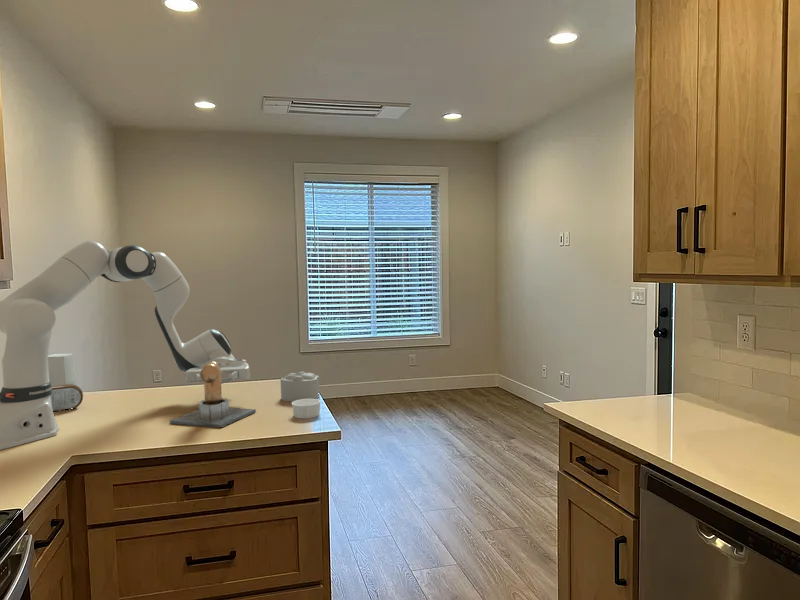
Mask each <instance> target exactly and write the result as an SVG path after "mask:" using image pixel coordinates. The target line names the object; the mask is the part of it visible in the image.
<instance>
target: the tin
mask: <svg viewBox="0 0 800 600" xmlns="http://www.w3.org/2000/svg"><path fill="white" fill-rule="evenodd" d="M51 387H52V394H51V402H52V408H53V411H57V412H60V411H59V410H65V409H71V408H75V409H77V408H78V407H79V406H80V405H81V404H82V402H83V399H84V394H83V393H84V392H83V390H82V389H81V388H80V387H79V386H78V385H77V386H76V385H73V384H67V385H58V386H51ZM65 411H66V410H65Z"/></svg>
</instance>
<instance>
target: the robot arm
mask: <svg viewBox="0 0 800 600" xmlns="http://www.w3.org/2000/svg"><path fill="white" fill-rule="evenodd" d="M100 276H101V277H102V278H104V279H106V280H107V281H110V282H113V283H125V282H126V283H127V282H131V281H134V280H139V279H140V280H142V281H144V282H145V283H146V284H147V285H148V288H149V289H150V290H151V291H152V293H153V295H154V297H155V300H156V306H155V307H154V315H155V318H156V321H157V323H158V325H159V328H160V329H161V332H162V334H163V336H164V338H165V340H166V342H167V345H168V347H169V349H170V352H171V353H172V354H171V355H172V357H173V360H174V363H175V364H176V367H177V368H178V369H179V370H180V371H181V372H185V374H184V375H185V376H184V377H185V382H187V383H195V382H199V383H200V382H201V383H202V382H204V381H203V380H202V379H201V376H200V373H201V371H202V369H203V368H204V366H205V365H206V364H207V363H208V362H212V361H213V362H217V363H218V364H219V365H220V367H221V385H222V384H225V383H227V382H228V383H229V382H233V381H238V380H239V381H240V380H247V379H250V377H251V376H250V365H249V363H247V360H246V359H242V358H241V359H239V358H235V356H234V355H233V354H232V346H231V344H230V341H229V340H228V338H227V336H226V335H225V334H224V333H223V332H222V331H220V330H217V329H215V328H210V329H207V330H205V331H204V332H202V333H200V334H199V335H198V336H195V337H194V338H192V339H191V340H188V341H186V342H183V341H182V340H181V338H180V336H179V334H178V332H177V329H176V327H175V324H174V319H175V317H176V315H177V314H178V313H179V311H180V310H181V309H182V308H183V307H184V305H185V303H187V300H188V299H189V296H190V291H191V290H190V289H191V288H190V286H189V283H188V281H187V280H186V278H185V276H184V275H183V274H182V272H181V270H180V269H179V268H178V267H177V265H176V264H175V263H174V262H173V261H172V260H171V258H170V257H169V256H168V255H166V254H165V253H164V252H161V251H155V252H149V251H147V250H146V249H144V248H143V247H141V246H139V245H131V244H130V245H125V246H120V247H115V248H113V249H110V250H109V249H107V248H106V247H105V246H103V244H101V243H99V242H97V241H94V240H85V241H83V242H82V243H80V244H78V245H76V246H73V248H71V249H70V250H68V251H67V252H66V253H64V254H63V255H61V256H60V257H59V258H58V259H57V260H56V261H54V262H53V263H52V264H51V265H50V266H48V267H47V268H46V269H45V270H44V271H42V272H41V273H40V274H38V276H36V277H34V278H33V279H32V280H30V281H28V282H27V283H25V284H24V285H22V286H20V288H18V289H17V290H15V291H13V292H11V294H9V295H7V296H6V297H5V298H4V299H2V300H1V301H0V332H1V333H3V334H5V335H6V341H5V348H4V353H3V356H2V359H1V366H2V367H1V368H2V381H3V383H2V384H3V386H2V388H1V390H0V451H1V450H5V449H9V448H13V447H16V446H20V445H23V444H28V443H33V442H35V441H39V440H42V439H46V438H50V437H54V436H56V435H58V433H57V432H58V431H59V429H60V427H59V425H58V423H57V421H56V418H55V412H53V408H52V402H51V394H52V387H51V382H50V381H49V368H48V356H49V348H50V341H51V337H52V336H51V334H52V331H53V328H54V326H55V323H56V314H55V312H56V311H57V310H58V309H60V308H62V307H63V306H65V305H67V304H69V303H70V302H72V301H73V300H75V298H76V297H77V296H78V295H79V294H81V293H82V292H83V291H84V290H85V289H86V288H87V287H89V286H90V284H91V283H92V282H94V281H95V280H96V279H97V278H98V277H100ZM203 365H204V366H203Z"/></svg>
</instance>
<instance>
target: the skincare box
mask: <svg viewBox="0 0 800 600" xmlns="http://www.w3.org/2000/svg"><path fill="white" fill-rule="evenodd" d="M75 362H76V361H75V353H53V354H50V355H49V354H48V368H49V381H50V382H51V386H58V385H67V384H73V385H76V386H78V385H77V382H78V381H77V374H76V364H75Z"/></svg>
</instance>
